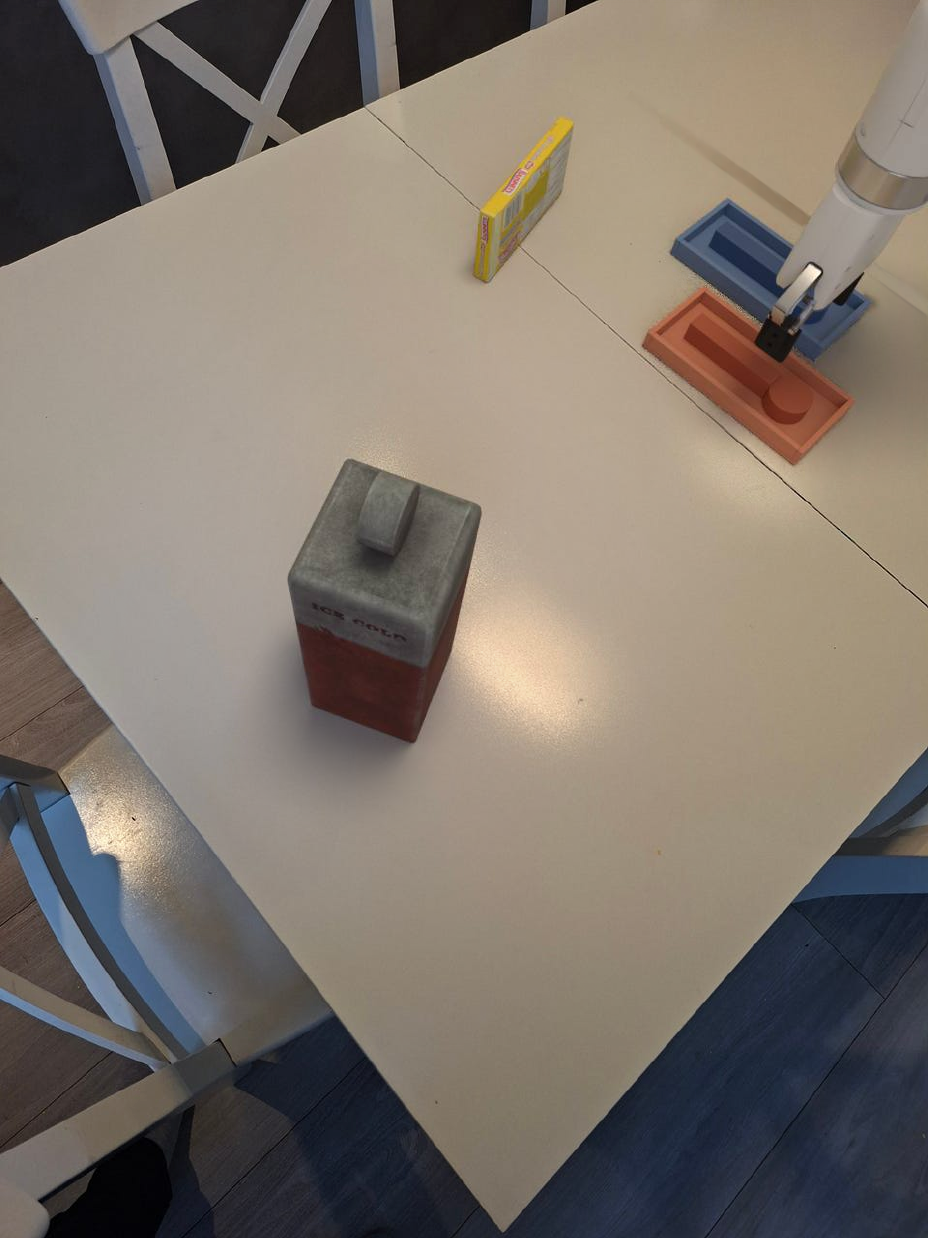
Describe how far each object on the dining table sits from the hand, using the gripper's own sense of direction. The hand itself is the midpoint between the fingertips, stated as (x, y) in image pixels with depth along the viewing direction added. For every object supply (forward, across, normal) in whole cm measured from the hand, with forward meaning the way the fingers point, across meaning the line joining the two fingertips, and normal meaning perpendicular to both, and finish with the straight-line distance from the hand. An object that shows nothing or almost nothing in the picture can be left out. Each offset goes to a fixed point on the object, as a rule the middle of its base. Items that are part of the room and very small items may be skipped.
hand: (799, 323), depth 82 cm
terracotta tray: (+7, +2, -2) cm, 8 cm away
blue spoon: (+7, -10, -8) cm, 14 cm away
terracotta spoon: (+7, +2, -2) cm, 7 cm away
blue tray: (+7, -10, -8) cm, 14 cm away
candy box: (+7, +5, -30) cm, 31 cm away
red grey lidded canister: (+6, +50, -5) cm, 51 cm away
